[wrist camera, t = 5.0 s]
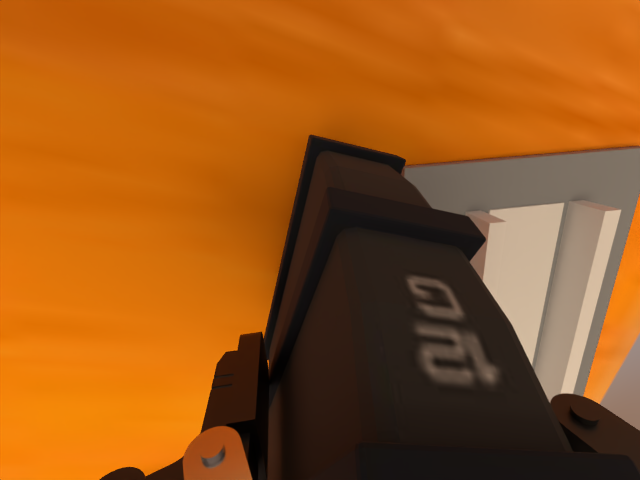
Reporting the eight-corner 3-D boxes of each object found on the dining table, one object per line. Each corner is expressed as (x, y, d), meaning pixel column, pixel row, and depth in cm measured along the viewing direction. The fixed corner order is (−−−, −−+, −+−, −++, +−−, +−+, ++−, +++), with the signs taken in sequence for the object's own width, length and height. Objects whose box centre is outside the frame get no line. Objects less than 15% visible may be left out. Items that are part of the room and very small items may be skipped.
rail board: (398, 166, 20) (422, 175, 17) (636, 146, 21) (701, 150, 18) (394, 430, 27) (409, 471, 24) (568, 402, 29) (605, 438, 26)
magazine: (411, 79, 13) (789, 720, 3) (324, 274, 22) (336, 598, 12) (323, 53, 13) (386, 795, 2) (270, 266, 22) (231, 603, 11)
